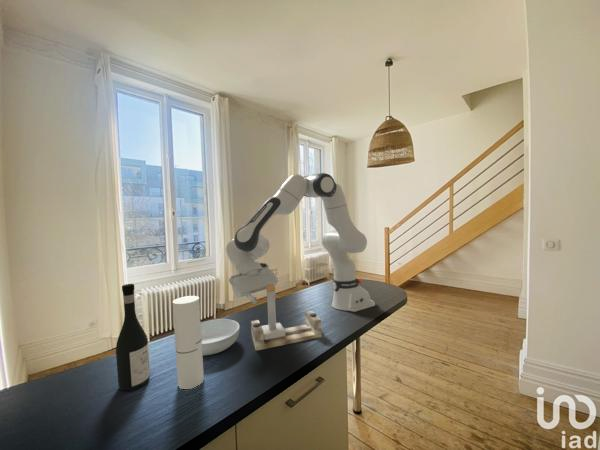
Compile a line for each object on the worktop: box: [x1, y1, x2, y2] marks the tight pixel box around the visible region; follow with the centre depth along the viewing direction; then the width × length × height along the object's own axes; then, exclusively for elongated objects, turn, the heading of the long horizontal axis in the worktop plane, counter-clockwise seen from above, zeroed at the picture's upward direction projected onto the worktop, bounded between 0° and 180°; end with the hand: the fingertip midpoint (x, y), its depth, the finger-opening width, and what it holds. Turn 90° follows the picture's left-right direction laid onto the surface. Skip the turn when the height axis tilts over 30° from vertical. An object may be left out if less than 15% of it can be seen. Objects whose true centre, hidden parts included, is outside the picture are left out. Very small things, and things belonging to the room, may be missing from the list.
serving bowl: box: [201, 318, 240, 356], centre depth 97 cm, size 21×21×7 cm
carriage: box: [261, 284, 285, 340], centre depth 100 cm, size 8×8×20 cm
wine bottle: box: [115, 283, 151, 391], centre depth 77 cm, size 8×8×30 cm
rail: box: [250, 310, 323, 352], centre depth 102 cm, size 26×10×7 cm, turn 109°
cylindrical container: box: [172, 295, 205, 390], centre depth 77 cm, size 7×7×25 cm
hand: (265, 299), depth 102 cm, fingers open, 8 cm apart
